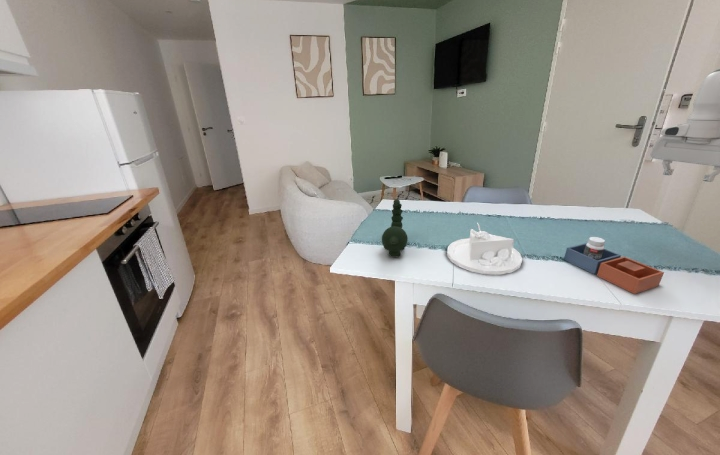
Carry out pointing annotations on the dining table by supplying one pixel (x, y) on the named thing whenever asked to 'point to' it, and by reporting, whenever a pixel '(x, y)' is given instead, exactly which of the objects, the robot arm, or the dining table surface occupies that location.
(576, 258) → the blue bin
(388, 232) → the green topiary ornament
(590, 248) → the pill bottle
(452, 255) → the dish
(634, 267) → the block
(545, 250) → the dining table surface
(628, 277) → the terracotta bin
